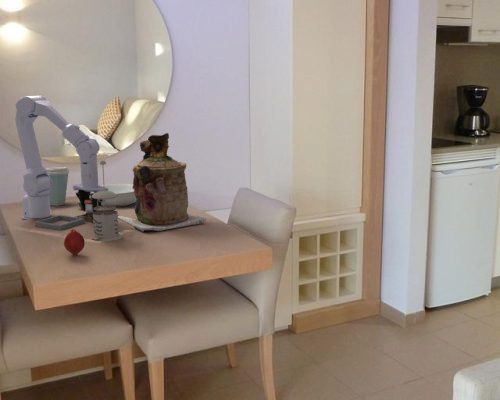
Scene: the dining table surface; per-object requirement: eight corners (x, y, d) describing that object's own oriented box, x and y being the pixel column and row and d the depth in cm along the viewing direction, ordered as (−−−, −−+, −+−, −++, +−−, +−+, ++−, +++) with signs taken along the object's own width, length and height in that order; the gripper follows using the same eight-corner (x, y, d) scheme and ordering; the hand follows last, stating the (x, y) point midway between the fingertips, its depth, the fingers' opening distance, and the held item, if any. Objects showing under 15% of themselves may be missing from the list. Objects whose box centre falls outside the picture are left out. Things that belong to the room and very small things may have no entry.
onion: (67, 252, 181) (65, 226, 179) (86, 252, 181) (85, 225, 180) (62, 258, 175) (61, 231, 173) (83, 257, 175) (81, 230, 174)
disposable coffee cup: (37, 204, 245) (35, 167, 242) (59, 200, 254) (57, 164, 251) (54, 208, 239) (52, 170, 236) (76, 203, 248) (74, 166, 245)
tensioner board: (67, 221, 218) (67, 210, 218) (93, 213, 230) (92, 203, 229) (95, 225, 212) (94, 214, 211) (120, 217, 224) (119, 207, 223)
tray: (35, 228, 208) (34, 221, 207) (60, 221, 218) (60, 214, 217) (60, 233, 202) (59, 225, 202) (85, 225, 212) (84, 218, 212)
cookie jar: (175, 211, 234) (173, 127, 228) (209, 224, 214) (208, 133, 208) (115, 220, 220) (111, 131, 214) (144, 234, 201) (141, 137, 194)
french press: (94, 242, 191) (90, 163, 186) (86, 234, 201) (82, 158, 196) (125, 239, 195) (122, 161, 190) (115, 230, 205) (112, 157, 200)
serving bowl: (117, 197, 259) (117, 181, 258) (153, 203, 247) (152, 187, 246) (78, 206, 243) (77, 189, 241) (114, 213, 231) (113, 195, 230)
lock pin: (82, 219, 217) (81, 199, 215) (91, 216, 221) (90, 197, 219) (92, 220, 215) (91, 201, 213) (101, 217, 219) (100, 198, 217)
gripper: (113, 174, 214) (114, 211, 217) (82, 170, 221) (84, 207, 224) (99, 177, 208) (101, 215, 211) (67, 173, 215) (70, 211, 218)
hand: (91, 211), depth 217 cm, fingers closed on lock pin, 4 cm apart
